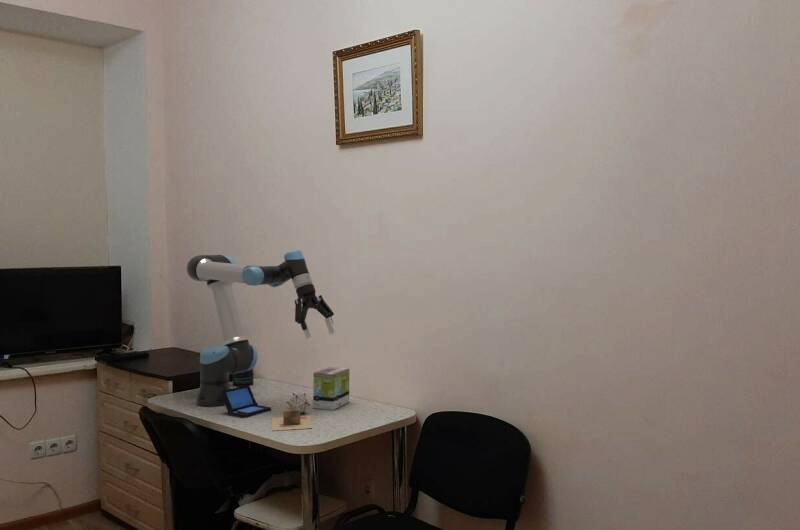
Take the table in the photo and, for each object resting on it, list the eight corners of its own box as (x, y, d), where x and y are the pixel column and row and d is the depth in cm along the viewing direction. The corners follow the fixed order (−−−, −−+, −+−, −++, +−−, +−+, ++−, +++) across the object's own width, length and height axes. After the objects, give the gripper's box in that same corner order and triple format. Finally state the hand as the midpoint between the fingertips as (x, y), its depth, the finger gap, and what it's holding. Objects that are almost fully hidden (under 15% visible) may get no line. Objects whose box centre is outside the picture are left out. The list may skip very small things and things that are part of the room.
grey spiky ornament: (302, 422, 259) (317, 400, 261) (297, 419, 251) (312, 397, 253) (284, 409, 261) (299, 388, 264) (279, 406, 253) (294, 384, 256)
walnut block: (283, 425, 239) (283, 411, 239) (283, 421, 245) (283, 407, 245) (300, 424, 240) (300, 410, 240) (299, 420, 246) (299, 407, 246)
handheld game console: (244, 419, 250) (243, 395, 250) (219, 414, 258) (219, 391, 258) (272, 410, 264) (272, 387, 264) (248, 406, 271) (248, 384, 271)
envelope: (272, 431, 232) (272, 430, 232) (272, 418, 250) (272, 417, 250) (312, 428, 235) (312, 427, 235) (309, 416, 252) (309, 415, 252)
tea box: (335, 410, 262) (334, 373, 262) (312, 408, 265) (312, 372, 265) (350, 402, 276) (349, 367, 276) (328, 400, 280) (328, 366, 279)
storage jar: (247, 382, 322) (247, 351, 321) (257, 385, 314) (257, 354, 314) (228, 384, 315) (228, 353, 315) (238, 388, 308) (237, 356, 308)
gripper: (287, 285, 255) (305, 336, 250) (331, 280, 275) (348, 328, 270) (275, 292, 259) (292, 342, 254) (319, 287, 279) (335, 334, 274)
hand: (321, 335), depth 262 cm, fingers open, 13 cm apart
